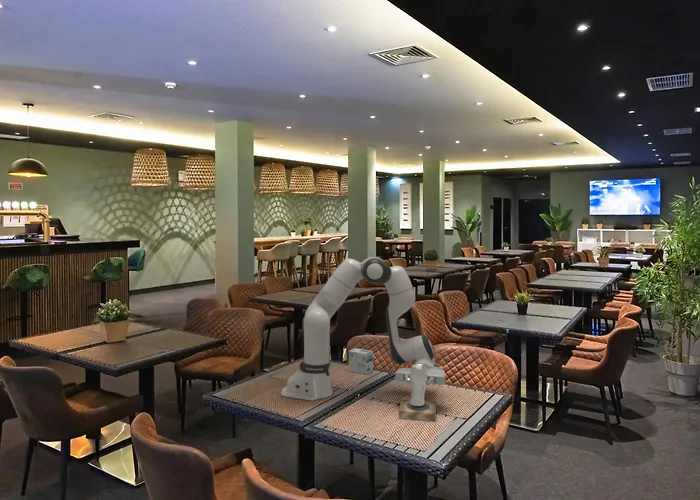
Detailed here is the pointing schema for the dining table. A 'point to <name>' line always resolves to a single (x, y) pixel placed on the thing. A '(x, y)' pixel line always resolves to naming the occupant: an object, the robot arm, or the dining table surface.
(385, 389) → the dining table surface
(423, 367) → the beer glass
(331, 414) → the dining table surface
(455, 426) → the dining table surface
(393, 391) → the dining table surface
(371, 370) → the light bulb box
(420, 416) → the brass stand
